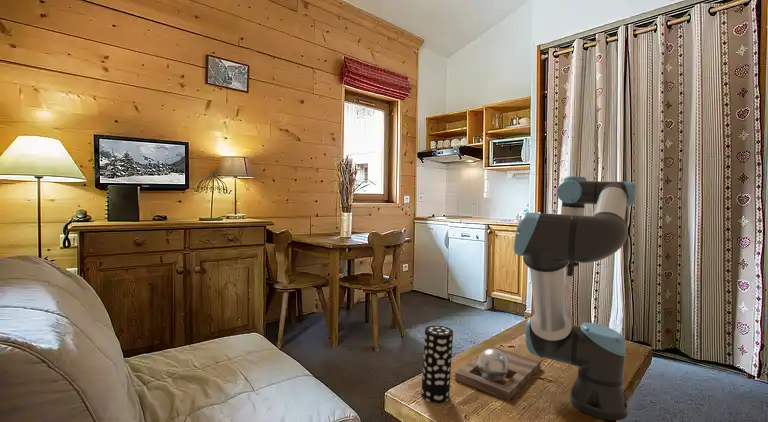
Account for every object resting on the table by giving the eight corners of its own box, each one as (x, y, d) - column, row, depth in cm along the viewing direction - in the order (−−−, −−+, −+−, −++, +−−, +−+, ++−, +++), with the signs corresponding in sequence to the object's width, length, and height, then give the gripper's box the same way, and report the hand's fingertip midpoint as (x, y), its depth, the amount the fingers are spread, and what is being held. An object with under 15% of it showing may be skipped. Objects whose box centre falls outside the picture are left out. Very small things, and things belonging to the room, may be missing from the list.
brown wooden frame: (492, 352, 148) (492, 346, 148) (540, 368, 137) (540, 361, 137) (455, 379, 125) (455, 372, 125) (508, 400, 114) (509, 392, 114)
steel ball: (516, 358, 121) (511, 388, 122) (504, 344, 131) (499, 372, 132) (485, 355, 121) (481, 385, 121) (476, 342, 131) (471, 370, 131)
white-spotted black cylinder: (430, 385, 120) (434, 323, 119) (454, 395, 115) (458, 330, 114) (415, 395, 114) (419, 330, 113) (439, 406, 109) (444, 337, 108)
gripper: (593, 221, 131) (588, 289, 132) (571, 218, 144) (566, 280, 145) (573, 220, 130) (567, 288, 131) (552, 217, 143) (547, 279, 144)
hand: (567, 284), depth 138 cm, fingers closed
